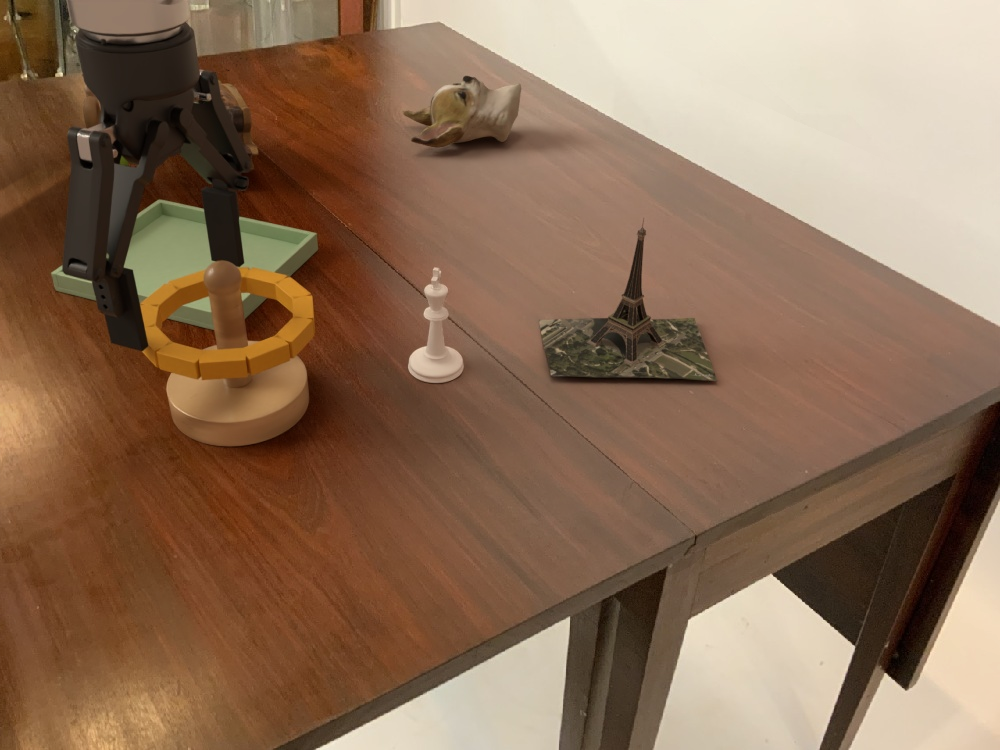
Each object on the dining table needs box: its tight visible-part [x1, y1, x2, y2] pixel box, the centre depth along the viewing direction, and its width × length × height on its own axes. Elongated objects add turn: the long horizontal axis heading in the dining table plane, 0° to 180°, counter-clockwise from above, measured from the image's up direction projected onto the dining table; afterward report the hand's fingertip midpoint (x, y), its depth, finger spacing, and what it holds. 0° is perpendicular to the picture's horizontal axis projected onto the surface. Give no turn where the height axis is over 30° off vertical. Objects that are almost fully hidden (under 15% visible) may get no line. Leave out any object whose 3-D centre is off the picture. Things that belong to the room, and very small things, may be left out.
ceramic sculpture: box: [402, 75, 522, 148], centre depth 125 cm, size 11×9×15 cm
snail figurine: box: [81, 73, 130, 167], centre depth 109 cm, size 5×6×12 cm
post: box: [166, 260, 310, 447], centre depth 77 cm, size 11×11×13 cm
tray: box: [50, 199, 319, 331], centre depth 97 cm, size 19×17×2 cm
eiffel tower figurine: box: [538, 217, 718, 382], centre depth 86 cm, size 15×10×13 cm
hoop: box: [140, 267, 316, 380], centre depth 76 cm, size 13×13×2 cm
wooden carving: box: [193, 79, 259, 174], centre depth 114 cm, size 16×5×10 cm, turn 38°
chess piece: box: [407, 266, 465, 384], centre depth 83 cm, size 5×5×10 cm
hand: (182, 300), depth 77 cm, fingers closed on hoop, 12 cm apart
